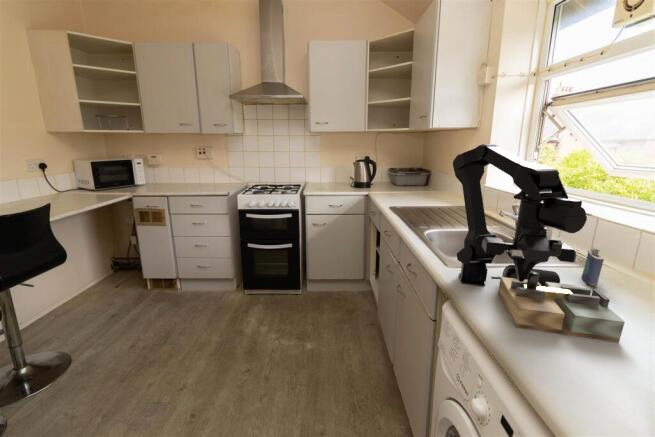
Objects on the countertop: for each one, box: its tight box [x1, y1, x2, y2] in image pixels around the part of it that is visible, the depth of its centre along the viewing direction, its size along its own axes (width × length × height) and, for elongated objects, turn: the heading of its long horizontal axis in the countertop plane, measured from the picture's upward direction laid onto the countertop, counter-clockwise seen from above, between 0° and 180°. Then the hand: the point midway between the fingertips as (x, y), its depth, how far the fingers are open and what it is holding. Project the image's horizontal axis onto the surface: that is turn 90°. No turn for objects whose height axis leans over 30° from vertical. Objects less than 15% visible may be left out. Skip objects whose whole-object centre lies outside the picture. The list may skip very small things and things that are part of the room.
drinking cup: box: [490, 264, 561, 287], centre depth 90 cm, size 8×8×20 cm
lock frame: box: [497, 276, 626, 343], centre depth 77 cm, size 20×17×7 cm
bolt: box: [523, 271, 572, 300], centre depth 77 cm, size 10×2×5 cm, turn 75°
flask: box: [581, 247, 605, 288], centre depth 95 cm, size 9×3×11 cm, turn 151°
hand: (520, 281), depth 78 cm, fingers closed
